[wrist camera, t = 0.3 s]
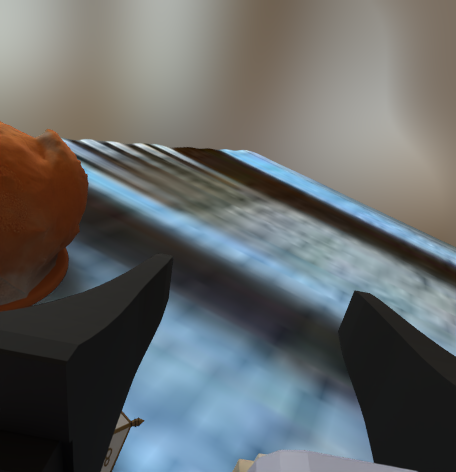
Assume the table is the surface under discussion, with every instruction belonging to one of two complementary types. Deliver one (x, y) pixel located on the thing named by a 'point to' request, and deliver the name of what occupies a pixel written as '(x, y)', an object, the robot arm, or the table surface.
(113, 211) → the table surface
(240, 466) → the birch base block
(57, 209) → the pumpkin
